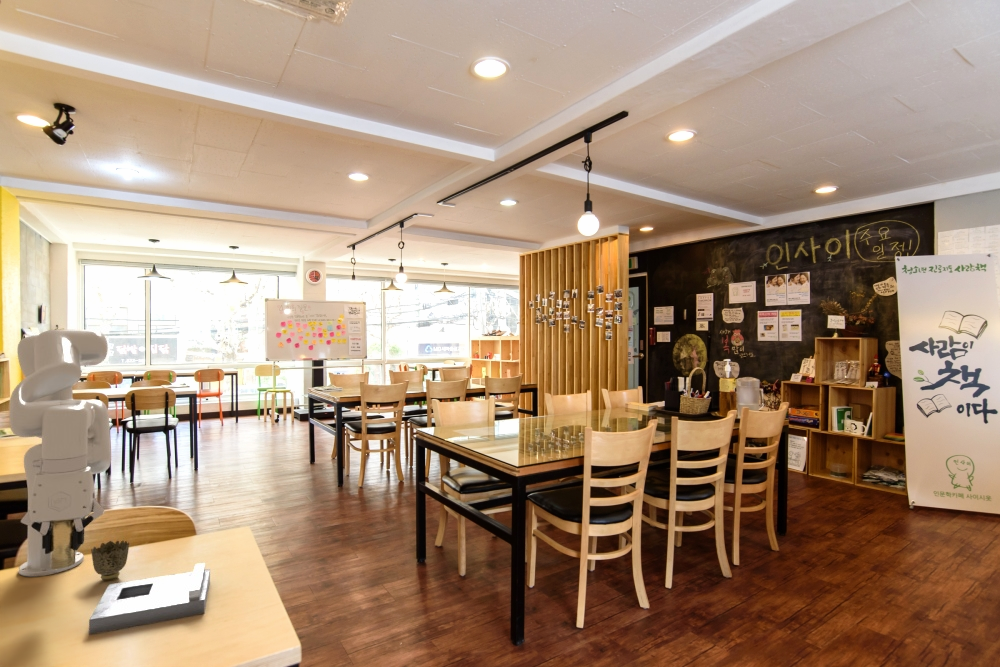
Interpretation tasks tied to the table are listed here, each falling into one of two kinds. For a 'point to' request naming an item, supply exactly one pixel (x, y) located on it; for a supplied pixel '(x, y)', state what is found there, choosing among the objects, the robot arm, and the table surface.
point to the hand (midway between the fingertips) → (63, 548)
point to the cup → (110, 559)
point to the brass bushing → (62, 544)
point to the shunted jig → (151, 600)
